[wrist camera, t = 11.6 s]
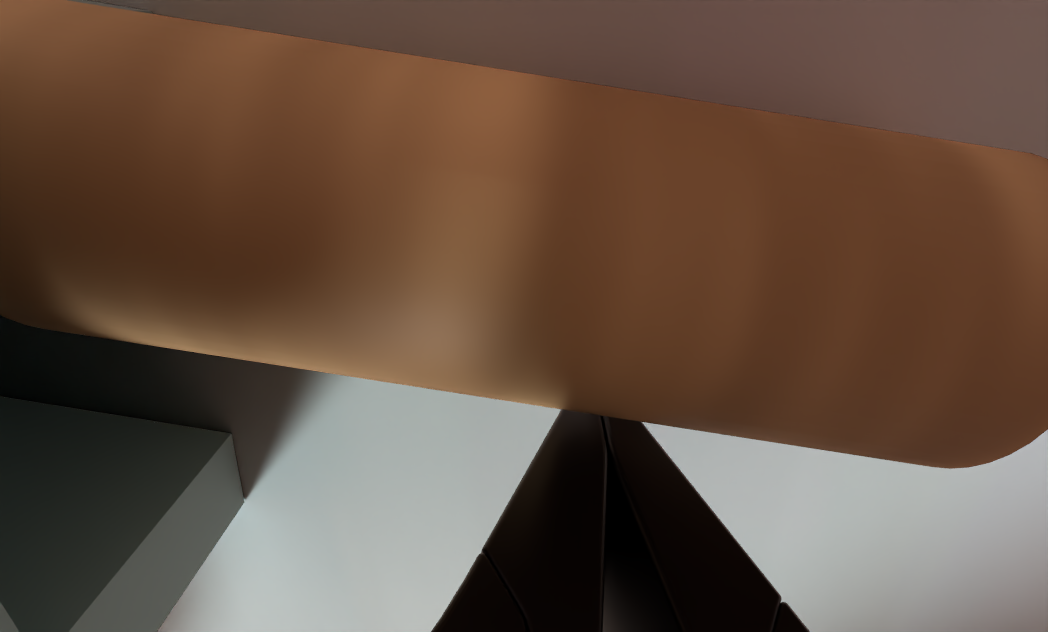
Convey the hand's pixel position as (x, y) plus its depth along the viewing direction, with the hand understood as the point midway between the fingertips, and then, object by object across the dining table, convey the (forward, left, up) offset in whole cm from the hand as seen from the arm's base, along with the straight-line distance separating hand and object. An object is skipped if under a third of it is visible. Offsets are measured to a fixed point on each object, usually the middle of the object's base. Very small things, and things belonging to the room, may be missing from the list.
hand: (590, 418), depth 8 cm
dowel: (+1, -1, +1) cm, 2 cm away
